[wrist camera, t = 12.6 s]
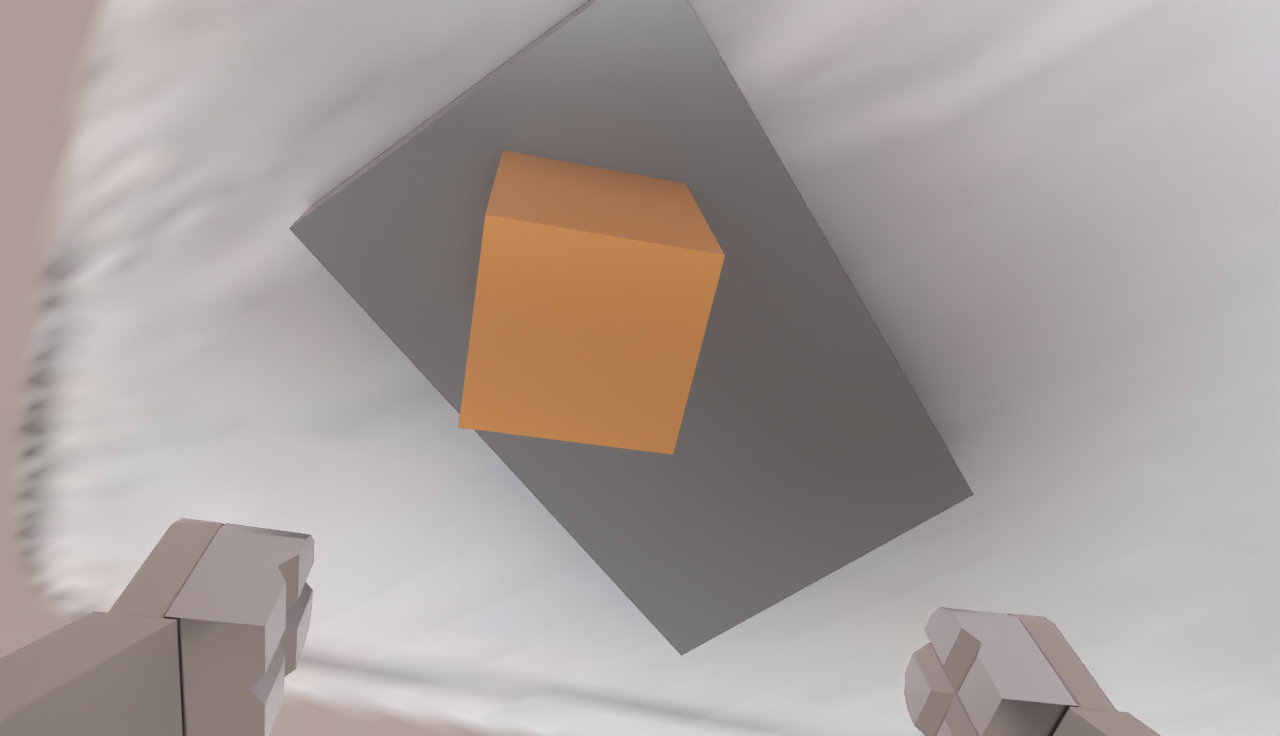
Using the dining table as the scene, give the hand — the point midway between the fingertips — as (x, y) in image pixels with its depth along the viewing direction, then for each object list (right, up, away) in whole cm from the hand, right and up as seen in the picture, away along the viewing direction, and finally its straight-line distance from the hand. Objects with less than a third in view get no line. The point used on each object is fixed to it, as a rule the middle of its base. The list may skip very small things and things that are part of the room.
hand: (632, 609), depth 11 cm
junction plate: (+1, +4, +16) cm, 17 cm away
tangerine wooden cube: (-2, +6, +13) cm, 14 cm away
